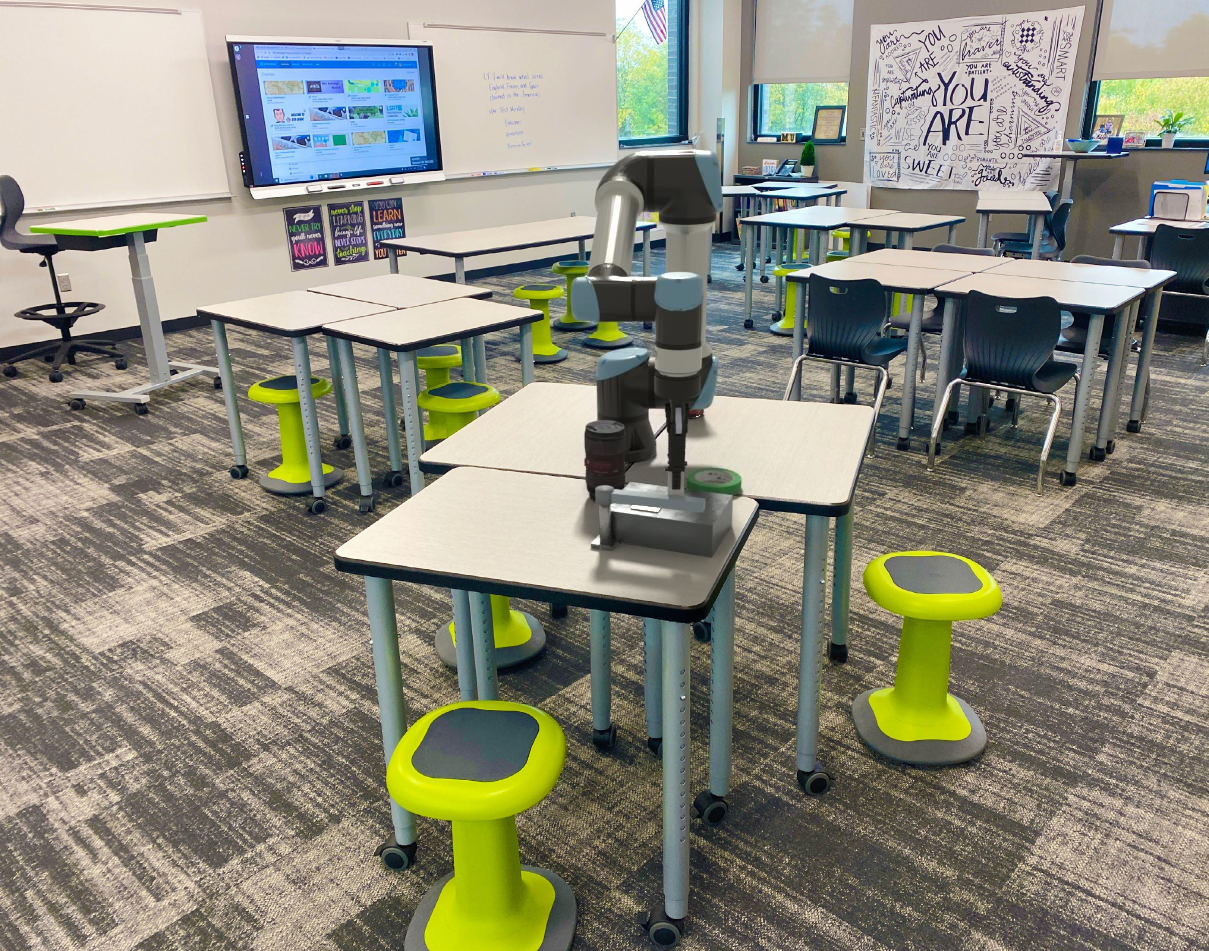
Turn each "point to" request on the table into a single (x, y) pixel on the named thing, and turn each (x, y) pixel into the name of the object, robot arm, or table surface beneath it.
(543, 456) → the table surface
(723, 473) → the tape roll
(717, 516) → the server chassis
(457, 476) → the table surface
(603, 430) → the camera lens
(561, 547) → the table surface
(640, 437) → the robot arm
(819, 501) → the table surface
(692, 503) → the bar
